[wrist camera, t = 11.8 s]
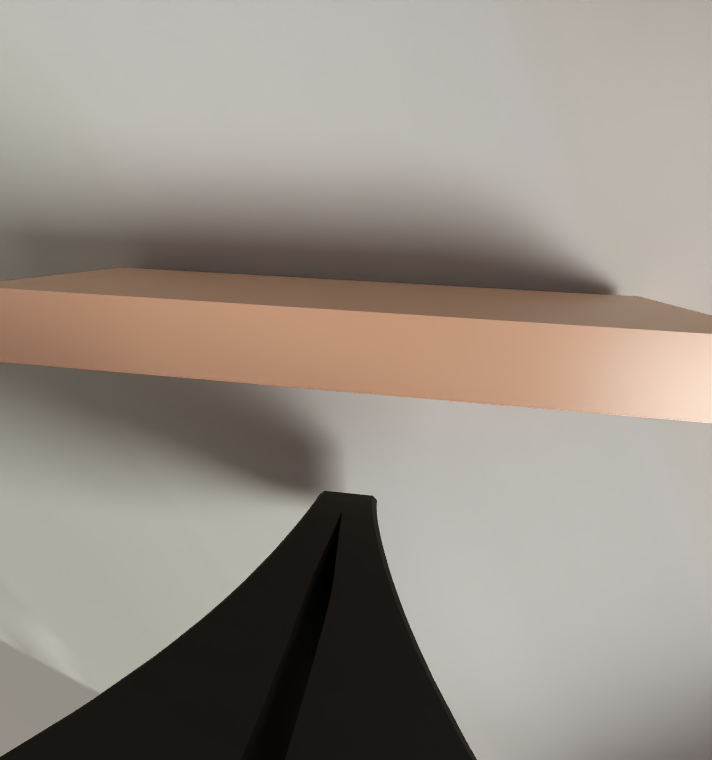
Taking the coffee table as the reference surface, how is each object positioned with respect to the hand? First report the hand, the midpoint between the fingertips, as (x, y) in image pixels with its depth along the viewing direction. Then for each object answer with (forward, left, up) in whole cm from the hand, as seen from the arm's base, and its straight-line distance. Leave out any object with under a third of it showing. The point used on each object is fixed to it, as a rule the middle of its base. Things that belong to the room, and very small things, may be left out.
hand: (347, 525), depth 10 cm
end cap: (0, -5, -1) cm, 5 cm away
